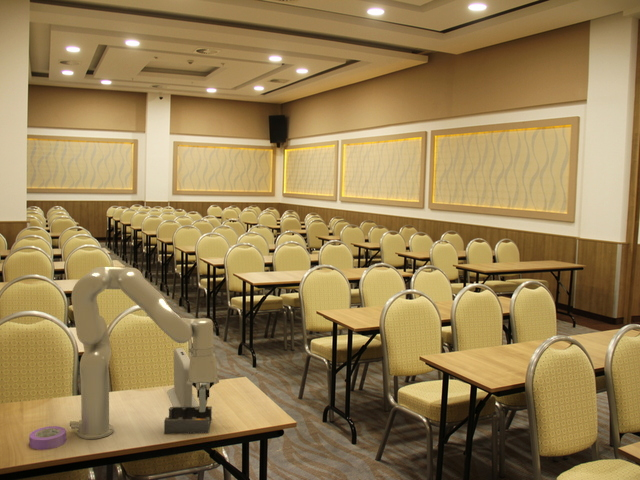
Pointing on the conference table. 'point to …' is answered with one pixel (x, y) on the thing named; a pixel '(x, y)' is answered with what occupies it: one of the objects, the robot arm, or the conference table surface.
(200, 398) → the panel
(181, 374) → the wireless router
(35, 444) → the masking tape
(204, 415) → the rack
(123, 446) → the conference table surface
